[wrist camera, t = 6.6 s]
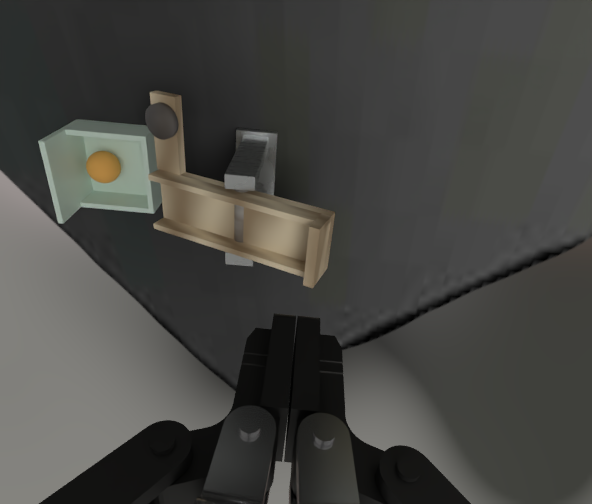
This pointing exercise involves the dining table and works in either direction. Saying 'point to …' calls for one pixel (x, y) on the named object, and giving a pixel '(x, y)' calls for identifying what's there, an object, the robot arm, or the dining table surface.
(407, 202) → the dining table surface
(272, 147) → the fulcrum
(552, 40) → the dining table surface
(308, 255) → the lever
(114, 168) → the ball
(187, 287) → the dining table surface
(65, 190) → the pale green cubby shelf
